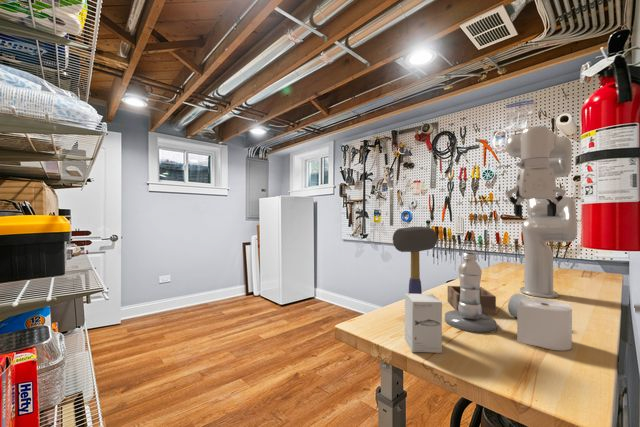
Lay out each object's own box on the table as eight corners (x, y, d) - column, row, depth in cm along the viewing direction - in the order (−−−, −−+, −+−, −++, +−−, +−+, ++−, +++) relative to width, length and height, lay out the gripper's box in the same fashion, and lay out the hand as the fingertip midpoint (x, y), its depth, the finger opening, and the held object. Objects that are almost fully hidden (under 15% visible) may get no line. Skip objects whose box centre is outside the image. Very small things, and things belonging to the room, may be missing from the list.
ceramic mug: (533, 327, 82) (534, 301, 82) (507, 317, 90) (507, 294, 90) (557, 323, 85) (557, 298, 85) (529, 314, 93) (529, 291, 93)
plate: (440, 313, 94) (439, 309, 94) (485, 316, 91) (485, 311, 91) (451, 330, 80) (451, 325, 80) (505, 334, 77) (505, 329, 77)
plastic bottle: (462, 321, 83) (462, 254, 83) (455, 313, 89) (455, 251, 89) (485, 322, 82) (485, 255, 82) (476, 314, 88) (476, 251, 88)
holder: (447, 301, 106) (447, 285, 106) (481, 303, 104) (481, 287, 104) (457, 312, 95) (457, 294, 94) (495, 314, 92) (495, 296, 92)
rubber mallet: (409, 336, 76) (409, 227, 76) (390, 326, 83) (390, 226, 83) (439, 327, 82) (439, 226, 82) (419, 318, 89) (419, 225, 89)
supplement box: (411, 353, 67) (411, 301, 67) (404, 339, 75) (404, 292, 75) (442, 354, 67) (442, 301, 67) (432, 340, 74) (432, 292, 74)
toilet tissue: (574, 341, 73) (574, 303, 73) (568, 358, 65) (568, 315, 65) (525, 329, 81) (525, 295, 81) (514, 342, 73) (514, 304, 73)
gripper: (511, 164, 90) (511, 217, 91) (572, 162, 87) (572, 216, 87) (500, 167, 98) (501, 216, 98) (557, 165, 94) (557, 215, 95)
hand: (534, 216), depth 93 cm, fingers open, 9 cm apart
